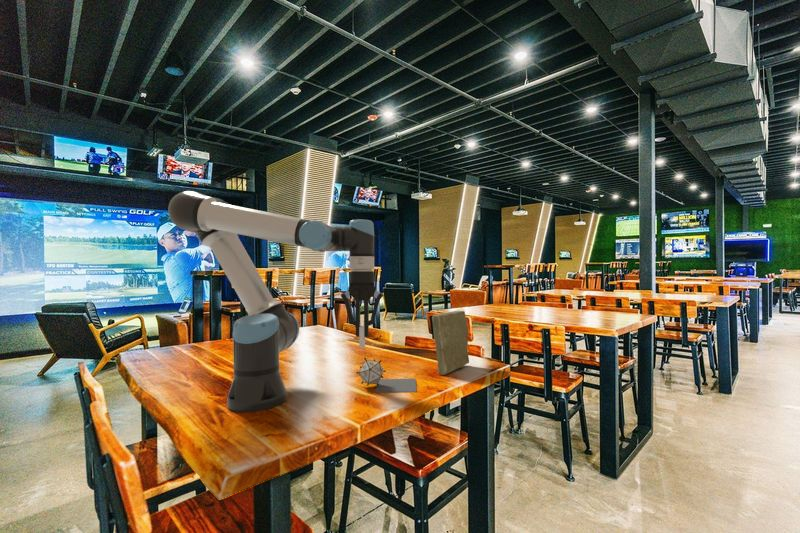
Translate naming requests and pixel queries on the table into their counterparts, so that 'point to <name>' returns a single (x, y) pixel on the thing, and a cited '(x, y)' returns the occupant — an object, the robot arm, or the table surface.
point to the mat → (396, 385)
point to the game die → (371, 372)
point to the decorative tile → (450, 340)
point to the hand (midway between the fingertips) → (362, 347)
